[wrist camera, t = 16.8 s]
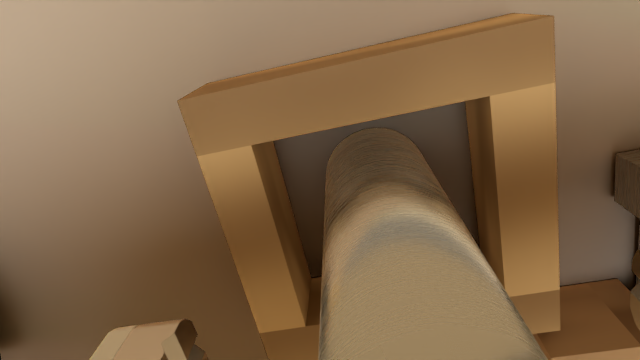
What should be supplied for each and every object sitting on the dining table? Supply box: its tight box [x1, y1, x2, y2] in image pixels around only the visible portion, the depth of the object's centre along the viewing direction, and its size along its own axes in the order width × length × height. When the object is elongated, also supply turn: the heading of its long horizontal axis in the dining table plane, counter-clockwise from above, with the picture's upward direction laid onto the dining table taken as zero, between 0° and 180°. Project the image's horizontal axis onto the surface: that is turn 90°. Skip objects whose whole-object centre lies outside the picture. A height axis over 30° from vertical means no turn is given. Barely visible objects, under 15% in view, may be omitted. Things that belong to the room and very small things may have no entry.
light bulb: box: [318, 128, 548, 360], centre depth 10 cm, size 3×3×9 cm
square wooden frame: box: [177, 13, 561, 360], centre depth 13 cm, size 9×9×2 cm
